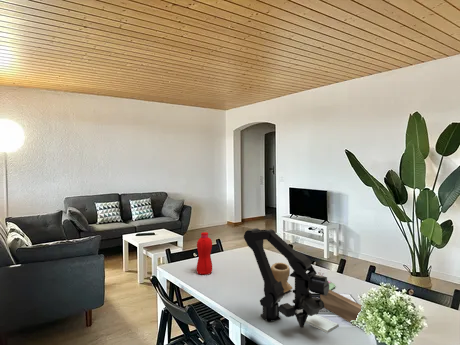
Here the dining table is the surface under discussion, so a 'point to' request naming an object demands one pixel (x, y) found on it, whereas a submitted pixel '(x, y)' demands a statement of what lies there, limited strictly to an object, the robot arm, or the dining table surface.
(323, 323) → the hard drive
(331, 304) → the walnut board
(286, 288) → the stone cup
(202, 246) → the water bottle
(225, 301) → the dining table surface
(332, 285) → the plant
